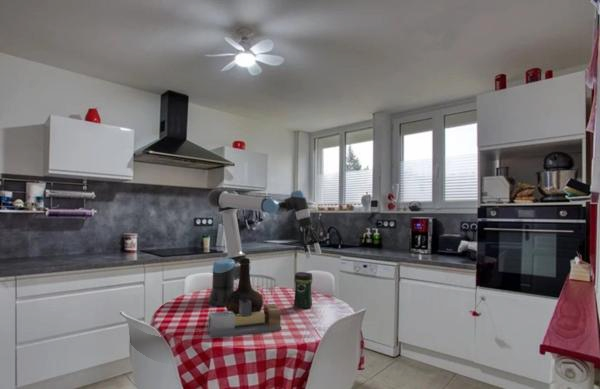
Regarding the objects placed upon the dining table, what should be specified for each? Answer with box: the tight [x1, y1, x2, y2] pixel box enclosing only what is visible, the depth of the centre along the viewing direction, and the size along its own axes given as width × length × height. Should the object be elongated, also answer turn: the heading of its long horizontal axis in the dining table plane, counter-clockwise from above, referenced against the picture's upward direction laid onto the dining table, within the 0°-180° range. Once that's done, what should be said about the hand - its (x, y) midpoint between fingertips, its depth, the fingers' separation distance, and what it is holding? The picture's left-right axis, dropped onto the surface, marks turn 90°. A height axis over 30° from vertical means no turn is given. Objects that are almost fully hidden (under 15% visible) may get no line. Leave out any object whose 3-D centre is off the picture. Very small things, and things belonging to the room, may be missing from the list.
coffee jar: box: [293, 271, 313, 309], centre depth 185 cm, size 10×8×19 cm
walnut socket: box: [263, 303, 282, 327], centre depth 153 cm, size 9×5×7 cm, turn 23°
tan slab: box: [235, 299, 265, 326], centre depth 148 cm, size 6×21×10 cm, turn 113°
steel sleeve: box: [207, 310, 235, 332], centre depth 145 cm, size 6×10×6 cm, turn 113°
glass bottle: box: [225, 257, 264, 314], centre depth 167 cm, size 18×18×28 cm
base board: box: [206, 322, 282, 339], centre depth 148 cm, size 12×30×2 cm, turn 113°
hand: (314, 256), depth 182 cm, fingers open, 13 cm apart
